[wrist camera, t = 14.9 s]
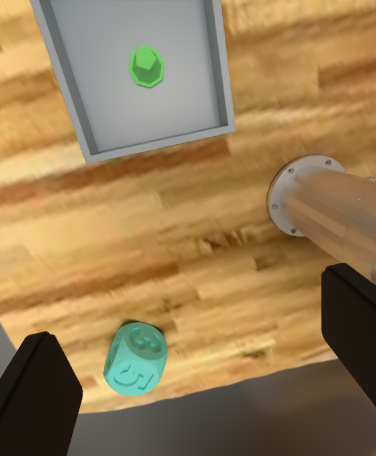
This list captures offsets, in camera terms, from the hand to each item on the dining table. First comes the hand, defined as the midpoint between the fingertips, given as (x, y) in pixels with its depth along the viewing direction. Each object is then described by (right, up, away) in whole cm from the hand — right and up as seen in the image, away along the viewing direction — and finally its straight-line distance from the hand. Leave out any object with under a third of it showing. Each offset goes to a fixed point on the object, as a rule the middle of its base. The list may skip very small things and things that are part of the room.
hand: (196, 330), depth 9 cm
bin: (-6, +23, +23) cm, 33 cm away
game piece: (-5, +23, +22) cm, 32 cm away
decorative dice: (-9, -17, +39) cm, 43 cm away
